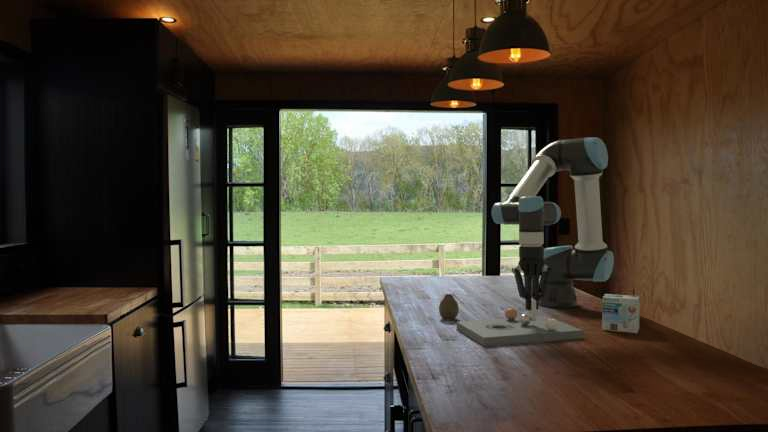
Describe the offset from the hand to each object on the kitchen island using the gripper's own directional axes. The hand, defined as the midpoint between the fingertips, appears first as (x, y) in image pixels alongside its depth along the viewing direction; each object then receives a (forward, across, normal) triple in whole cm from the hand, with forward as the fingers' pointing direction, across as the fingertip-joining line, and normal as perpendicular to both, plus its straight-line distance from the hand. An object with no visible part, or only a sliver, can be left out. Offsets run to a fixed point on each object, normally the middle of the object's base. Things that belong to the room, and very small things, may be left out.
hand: (532, 320), depth 179 cm
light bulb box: (+4, -29, +4) cm, 30 cm away
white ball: (0, -2, +8) cm, 9 cm away
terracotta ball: (0, +3, -9) cm, 9 cm away
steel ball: (0, +2, 0) cm, 2 cm away
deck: (+4, +5, 0) cm, 6 cm away
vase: (+4, +18, -27) cm, 33 cm away
